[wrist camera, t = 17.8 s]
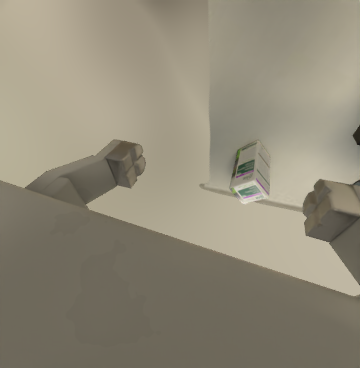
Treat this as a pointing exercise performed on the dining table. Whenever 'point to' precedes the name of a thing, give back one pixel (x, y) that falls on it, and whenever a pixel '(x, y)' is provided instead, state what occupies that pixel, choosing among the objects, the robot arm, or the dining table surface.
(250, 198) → the syrup box
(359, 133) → the pan
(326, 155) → the dining table surface
